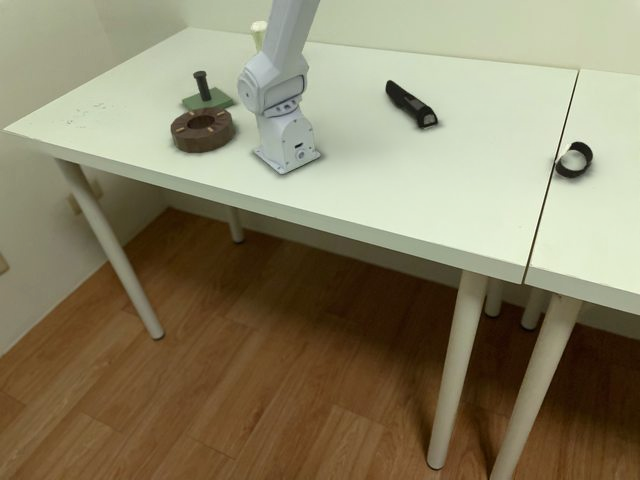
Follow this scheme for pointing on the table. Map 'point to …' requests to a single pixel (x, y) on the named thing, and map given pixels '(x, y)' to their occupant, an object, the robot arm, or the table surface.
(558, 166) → the watch
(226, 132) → the clock ring
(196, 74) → the rack
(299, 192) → the table surface
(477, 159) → the table surface
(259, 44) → the milkshake
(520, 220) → the table surface
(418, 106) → the electric trimmer
